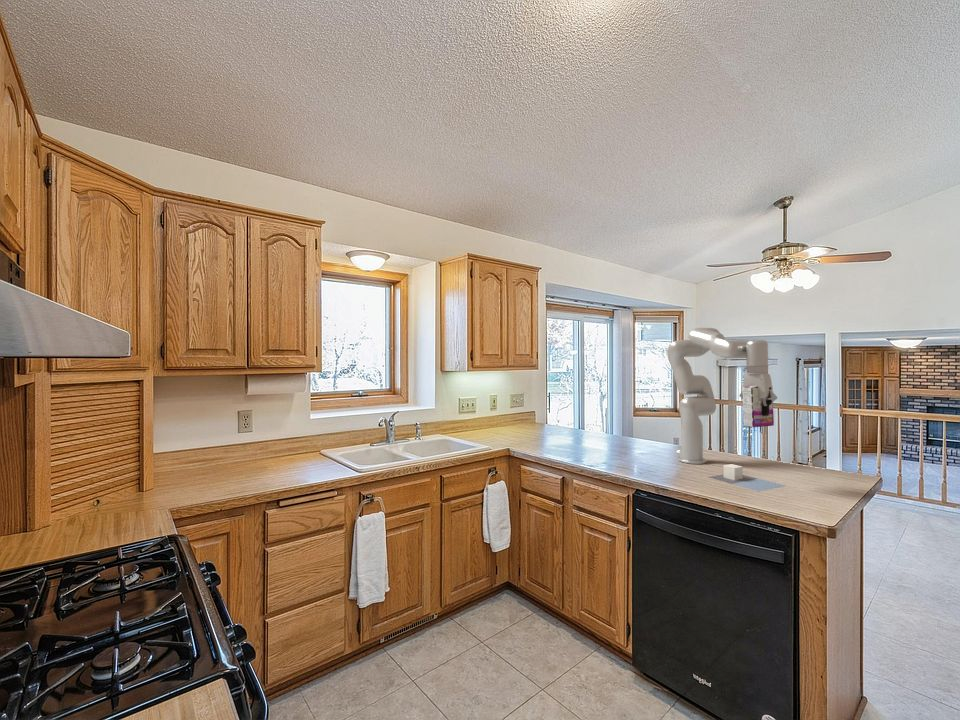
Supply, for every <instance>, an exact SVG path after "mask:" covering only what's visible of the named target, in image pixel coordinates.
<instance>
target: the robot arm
mask: <svg viewBox="0 0 960 720" xmlns="http://www.w3.org/2000/svg"><path fill="white" fill-rule="evenodd" d="M768 345H769V343H768V341H767V340H763V339H761V340H759V339H758V340H757V339H755V340H727V339H726V338H725V336H724V334H722V333H721V332H720V331H719V330H718V329H717V328H714V327H696V328H693V329H691V330H690V331H689V333H688V339H677V340H674V341H672V342H670V344H669V345H668V347H667V350H666V351H667V352H666V354H667V355H666V356H667V360H668V362H669V364H670V366H671V369H672V373H673V377H674V379H675V384H676V388H677V391H678V392H679V394H680V395H687V396H686V397H683V398H682V399H681V400H680V401H679V403H678V410H679V415H680V426H681V427H680V428H681V429H680V430H681V431H680V432H681V434H680V435H681V439H680V440H681V449H678V450H676V451H675V453H676V454H677V455H679V456H678V458H677V460H678V461H679V462H681V463H684V464H691V465H692V464H693V465H702V464H706V463H707V462H708V461H707V460H708V459H706V458H705V457H704V434H703V433H704V429H703V427H704V426H703V423H702V421H701V419H700V417H702V416H703V417H704V416H711V415H713V414H715V412H716V410H717V404H716V398H715V395H714V391H713V387H712V384H711V382H710V380H709V379H708V378H707V377H706V376H704V375H702V374H701V375H699V374H697V375H696V374H693V370H692V366H691V365H690V363H689V361H687V360H686V358H694V357H701V356H704V355H706V353H708V352H709V351H711V353H712V354H713V355H716V356H719V357H722V358H725V359H745V360H746V367H744V368H743V370H744V371H745V372H746V373H744V375H743V379H742V380H743V381H742V387H744V386H756V387H758V398H759V399H762V402H763V405H764V406H762V415H763V416H768V415H769V406H770V405H771V404H772V403H773V404H774V402H775V401H776V400H777V399H778V396H777V395H776V394H775V393H774V390H773V391H772V387H773V382H772V377H771V374H770V373H769V356H768V355H769V346H768ZM688 395H689V396H688ZM690 395H691V396H690ZM692 395H697V396H692ZM738 395H739V397H740V398H741V399H742V400H743V391H742V390H741V392H740V393H739V394H738ZM769 398H771V399H769Z"/></svg>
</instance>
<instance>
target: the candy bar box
mask: <svg viewBox="0 0 960 720" xmlns="http://www.w3.org/2000/svg"><path fill="white" fill-rule="evenodd" d="M741 387H742V390H741V392H742V391H743V399H742V411H743V413H742V414H743V415H742V416H743V417H742V419H743V427H747V428H749V427H750V428H760V427H762V428H763V427H773V426H775V424H774V423H775V422H774V417H775V416H774V402H773V403H772V404H771V405H770V406H769V415H768V416H763V415H762V406H764V405H763V402H762V399H759V398H758V387H756V386H744V387H743V386H741ZM772 391H773V392H774V390H773V386H772ZM769 399H771V398H769Z"/></svg>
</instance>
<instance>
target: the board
mask: <svg viewBox="0 0 960 720" xmlns="http://www.w3.org/2000/svg"><path fill="white" fill-rule="evenodd" d="M708 478H709V479H714V480H716V481H721V482H725V483H727V484H731V485H735V486H738V487H742V488H745V489H749V490H752V491H756V492H763V491H768V490H773V489H777V488H781V487H782V488H783V487H786V485H785V484H781V483H776V482H773V481H768V480H765V479H762V478H758V477H753V476H749V475H745V474H743V479H738V480H732V479H728V478H725V477H724V473H723V474H718V475H711V476H708Z"/></svg>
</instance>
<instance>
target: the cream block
mask: <svg viewBox="0 0 960 720" xmlns="http://www.w3.org/2000/svg"><path fill="white" fill-rule="evenodd" d="M722 467H723V474H724V477H725V478H728V479H732V480H738V479H743V475H744V474H743V472H744V471H743V470H744V469H743V466H741V465H737V464H732V463H731V464H730V463H729V464H724V465H723V466H722Z"/></svg>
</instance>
